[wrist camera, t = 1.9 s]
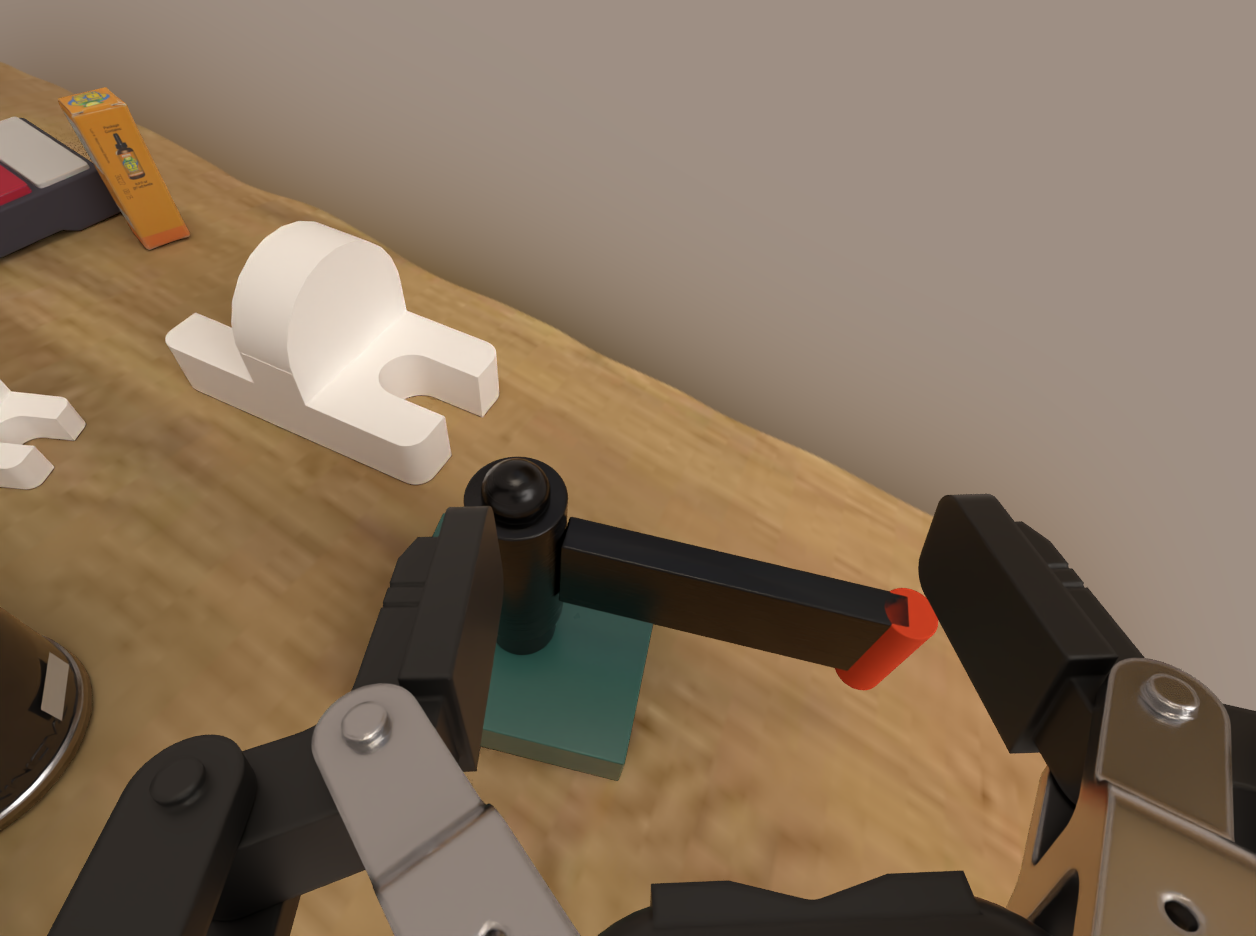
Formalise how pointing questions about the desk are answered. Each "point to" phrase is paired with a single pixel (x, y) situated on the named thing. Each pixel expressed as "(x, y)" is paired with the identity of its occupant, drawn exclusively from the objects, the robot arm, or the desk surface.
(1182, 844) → the robot arm
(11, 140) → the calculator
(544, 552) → the black l-shaped bar
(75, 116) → the supplement box
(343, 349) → the white slotted bracket
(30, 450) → the cable organizer
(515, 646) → the stand
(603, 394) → the desk surface
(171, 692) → the desk surface
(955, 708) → the desk surface
